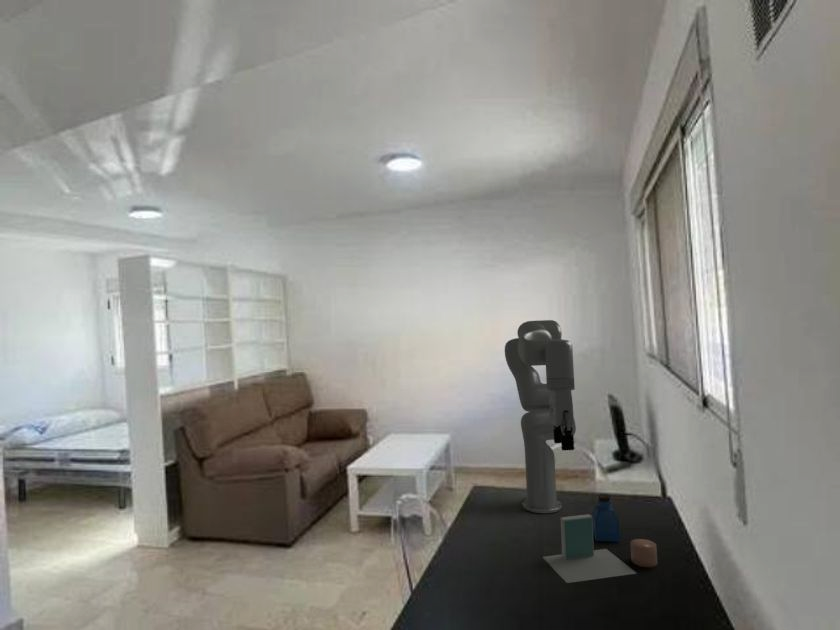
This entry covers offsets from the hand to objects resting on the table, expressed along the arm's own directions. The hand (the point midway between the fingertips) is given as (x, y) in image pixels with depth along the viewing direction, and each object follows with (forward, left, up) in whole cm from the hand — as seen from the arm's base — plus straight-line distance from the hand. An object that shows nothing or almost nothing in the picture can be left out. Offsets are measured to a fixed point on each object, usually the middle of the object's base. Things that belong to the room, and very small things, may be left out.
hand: (563, 446), depth 145 cm
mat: (+14, -2, -27) cm, 30 cm away
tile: (+9, -2, -26) cm, 28 cm away
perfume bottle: (0, +11, -27) cm, 29 cm away
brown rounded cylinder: (+16, +13, -27) cm, 34 cm away
